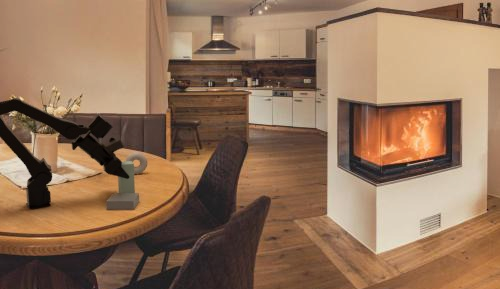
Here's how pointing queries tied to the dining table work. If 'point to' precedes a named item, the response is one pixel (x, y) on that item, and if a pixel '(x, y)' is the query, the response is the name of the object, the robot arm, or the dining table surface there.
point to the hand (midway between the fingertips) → (126, 175)
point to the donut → (141, 158)
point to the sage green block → (124, 183)
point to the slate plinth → (122, 201)
